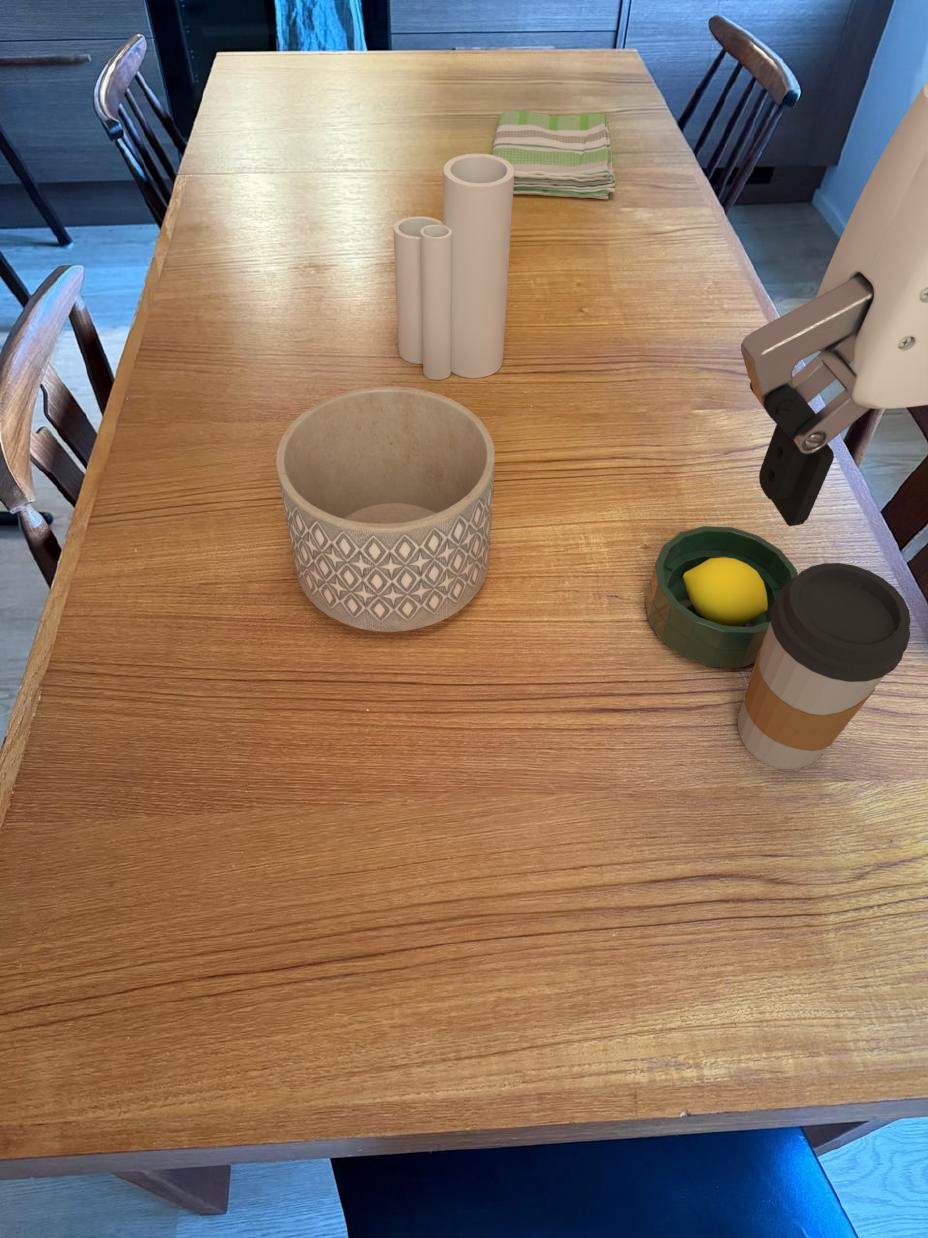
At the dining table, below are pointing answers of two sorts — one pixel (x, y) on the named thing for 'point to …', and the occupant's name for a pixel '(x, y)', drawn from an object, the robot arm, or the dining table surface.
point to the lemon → (726, 591)
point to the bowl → (677, 612)
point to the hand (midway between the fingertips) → (881, 487)
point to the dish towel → (557, 153)
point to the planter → (388, 506)
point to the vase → (457, 272)
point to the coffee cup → (820, 661)
